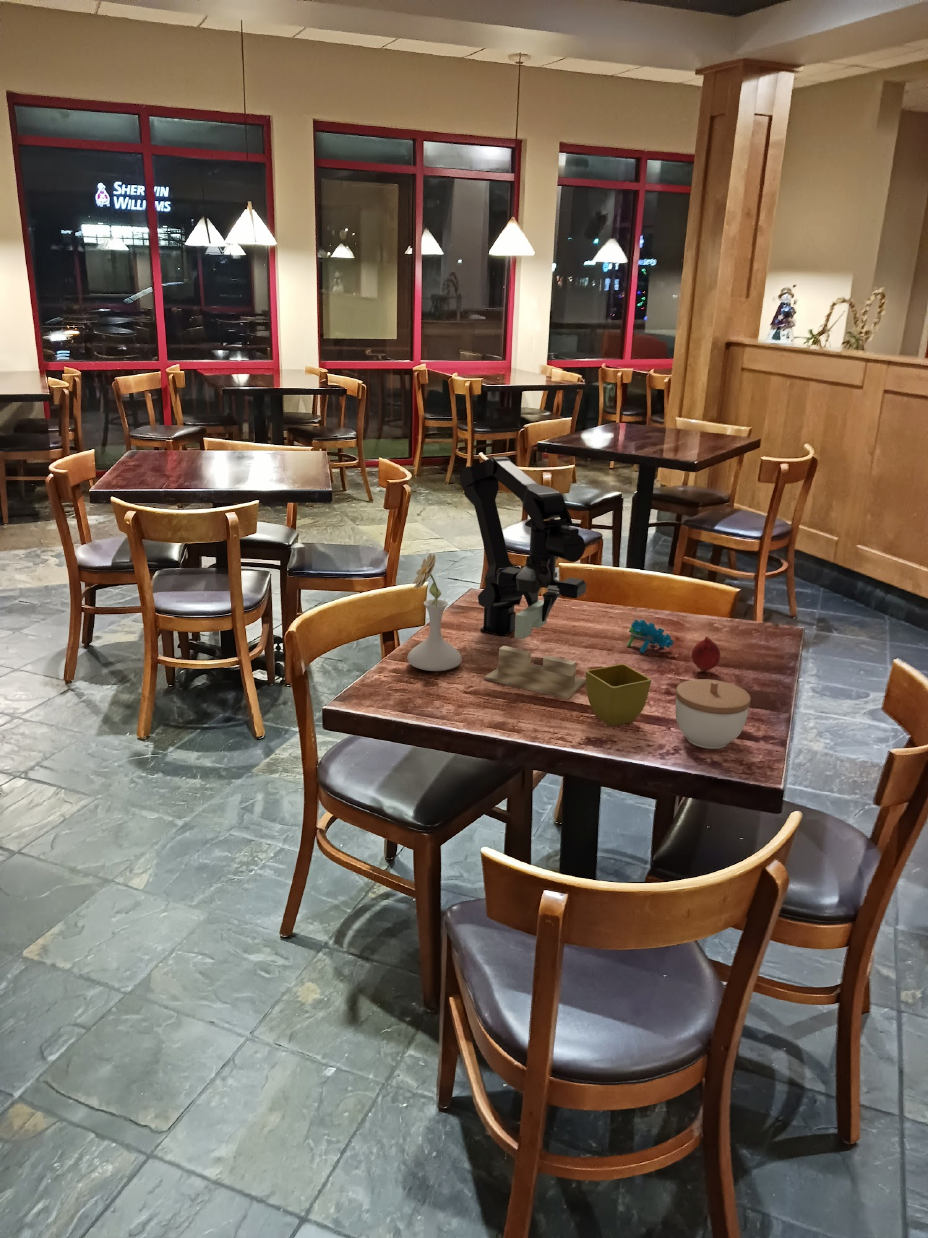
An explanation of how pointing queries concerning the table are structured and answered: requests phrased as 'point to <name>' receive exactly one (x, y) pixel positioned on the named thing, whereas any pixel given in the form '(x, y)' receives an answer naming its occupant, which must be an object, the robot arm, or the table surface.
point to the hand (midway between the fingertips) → (538, 620)
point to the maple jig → (536, 673)
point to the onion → (705, 654)
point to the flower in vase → (433, 629)
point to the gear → (648, 635)
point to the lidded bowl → (711, 712)
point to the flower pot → (617, 693)
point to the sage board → (529, 620)
